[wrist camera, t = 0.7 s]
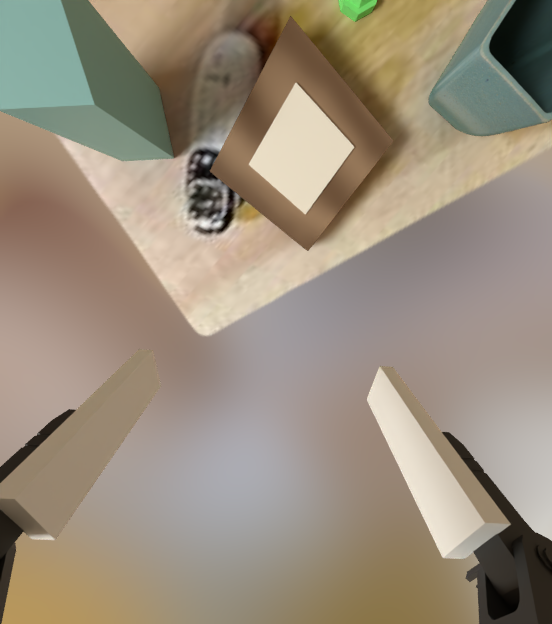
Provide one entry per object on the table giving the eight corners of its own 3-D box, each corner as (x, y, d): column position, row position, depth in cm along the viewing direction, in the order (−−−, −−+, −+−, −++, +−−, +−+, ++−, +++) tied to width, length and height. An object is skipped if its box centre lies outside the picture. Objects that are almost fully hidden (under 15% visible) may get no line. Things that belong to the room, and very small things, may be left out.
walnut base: (287, 43, 20) (291, 13, 17) (379, 150, 24) (394, 140, 21) (216, 176, 24) (209, 170, 21) (303, 248, 28) (308, 251, 25)
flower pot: (463, 5, 20) (605, -149, 11) (518, 68, 22) (672, -25, 13) (401, 110, 23) (478, 48, 14) (454, 156, 25) (548, 125, 16)
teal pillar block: (100, 90, 21) (-81, -52, 10) (158, 87, 21) (42, -56, 10) (122, 161, 23) (-4, 109, 12) (174, 158, 23) (94, 104, 13)
